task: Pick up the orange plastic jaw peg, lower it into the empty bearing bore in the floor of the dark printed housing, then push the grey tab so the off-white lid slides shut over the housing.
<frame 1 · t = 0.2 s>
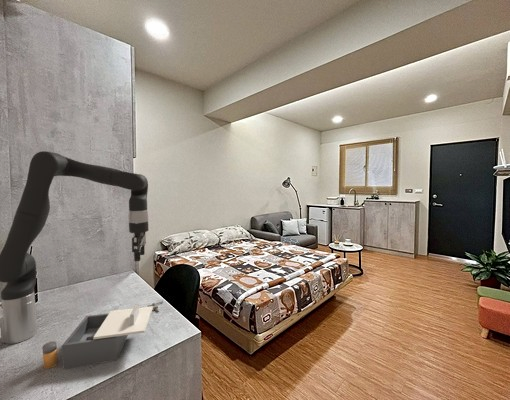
hand: (139, 257, 104), 29 cm above the table, fingers open, 8 cm apart
lid: (126, 316, 91), point 11 cm above the table, slide at 9.0 cm
housing: (100, 346, 90), on the table
clamp: (149, 312, 114), on the table
jaw peg: (50, 364, 81), on the table
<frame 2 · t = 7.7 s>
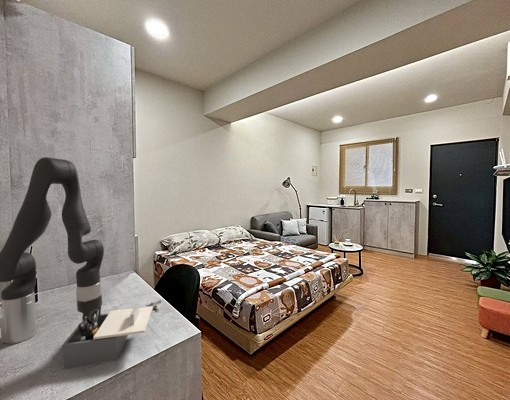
hand: (92, 339, 89), 3 cm above the table, fingers closed on housing, jaw peg, 3 cm apart
jaw peg: (92, 341, 89), point 2 cm above the table, touching gripper
when the fingers open (3 cm above the table, at t = 8.0 s): jaw peg drops 2 cm, resting in housing.
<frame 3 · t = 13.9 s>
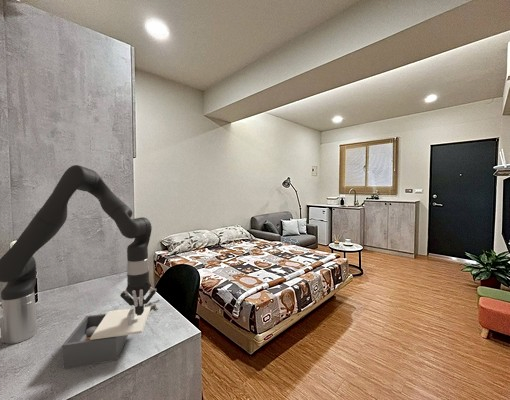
hand: (139, 314, 92), 11 cm above the table, fingers closed
lid: (123, 316, 91), point 11 cm above the table, slide at 8.1 cm, touching gripper
jaw peg: (93, 347, 89), resting in housing
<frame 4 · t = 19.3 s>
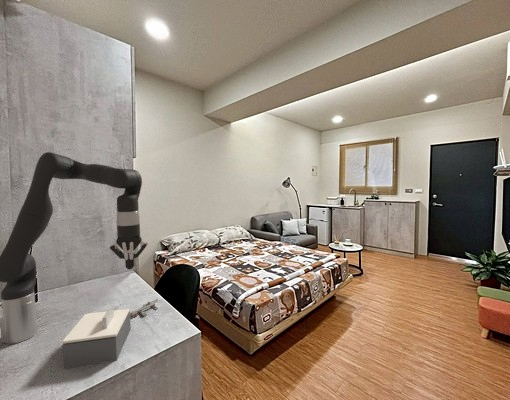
hand: (130, 268, 90), 29 cm above the table, fingers closed
lid: (99, 319, 89), point 11 cm above the table, slide at 0.0 cm
at the end: jaw peg 0.4 cm from the target spot on the housing, point 0.0 cm above the housing's base; jaw peg tilted 2°; lid slide at 0.0 cm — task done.
